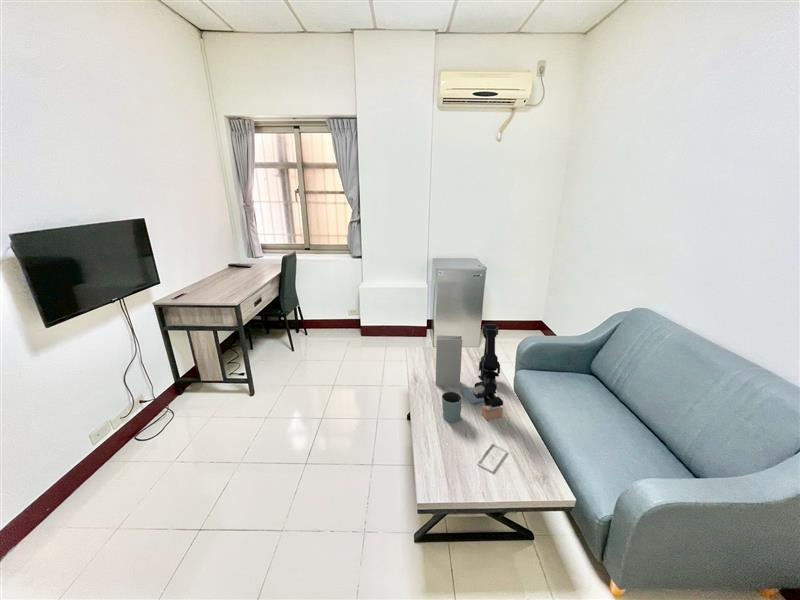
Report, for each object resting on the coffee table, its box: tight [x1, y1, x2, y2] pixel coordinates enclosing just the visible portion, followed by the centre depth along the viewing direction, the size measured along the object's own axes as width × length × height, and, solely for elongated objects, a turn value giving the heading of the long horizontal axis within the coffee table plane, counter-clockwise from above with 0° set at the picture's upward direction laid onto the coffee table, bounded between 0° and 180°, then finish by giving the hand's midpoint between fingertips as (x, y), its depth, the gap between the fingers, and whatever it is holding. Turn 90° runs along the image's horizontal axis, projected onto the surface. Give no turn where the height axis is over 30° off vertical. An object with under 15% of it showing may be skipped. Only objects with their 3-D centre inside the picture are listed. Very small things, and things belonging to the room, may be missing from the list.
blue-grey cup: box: [441, 390, 463, 423], centre depth 167 cm, size 10×10×12 cm
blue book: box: [460, 386, 485, 405], centre depth 185 cm, size 14×9×1 cm, turn 16°
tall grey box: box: [435, 334, 463, 387], centre depth 193 cm, size 14×6×30 cm, turn 84°
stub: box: [480, 405, 504, 422], centre depth 168 cm, size 5×9×5 cm, turn 106°
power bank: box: [476, 442, 508, 474], centre depth 142 cm, size 7×1×15 cm
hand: (487, 407), depth 172 cm, fingers closed
